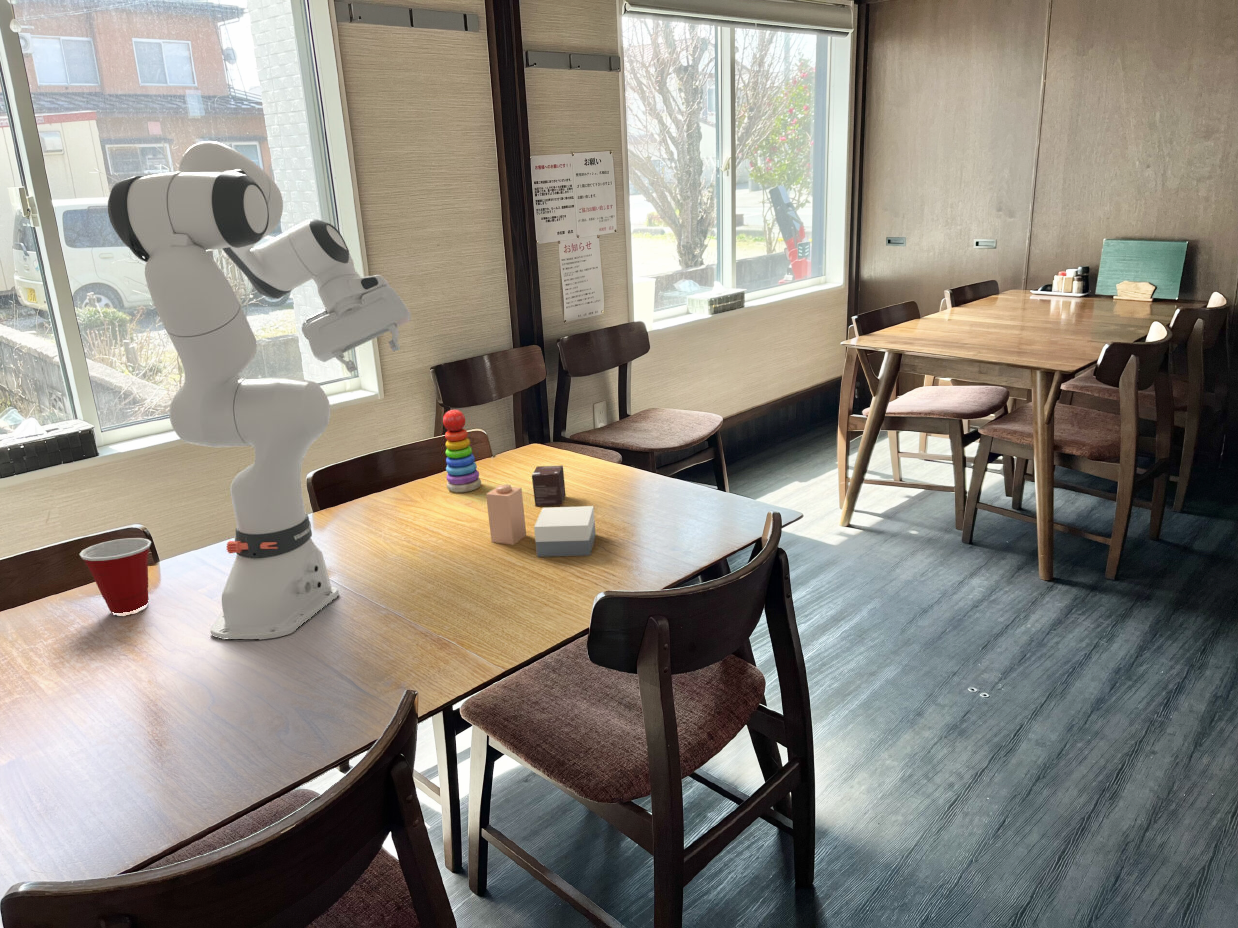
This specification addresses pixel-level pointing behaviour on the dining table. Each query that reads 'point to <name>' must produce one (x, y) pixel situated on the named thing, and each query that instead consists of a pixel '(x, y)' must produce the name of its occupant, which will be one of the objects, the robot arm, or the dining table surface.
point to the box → (548, 485)
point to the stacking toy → (459, 455)
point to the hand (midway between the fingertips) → (374, 359)
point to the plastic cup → (120, 572)
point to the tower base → (566, 547)
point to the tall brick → (506, 514)
